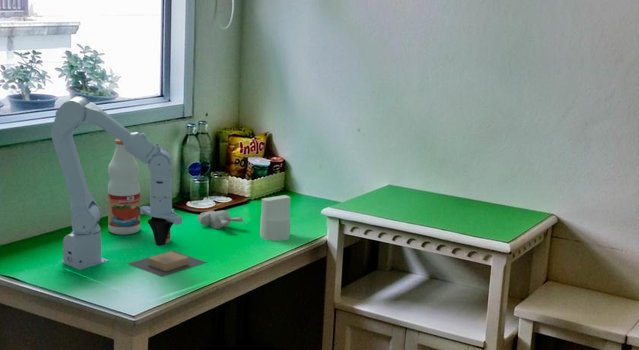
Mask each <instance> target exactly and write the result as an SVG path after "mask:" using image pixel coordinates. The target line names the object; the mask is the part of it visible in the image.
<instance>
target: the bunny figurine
mask: <svg viewBox="0 0 639 350" xmlns="http://www.w3.org/2000/svg"><path fill="white" fill-rule="evenodd" d="M197 221H199V224H200V225H203V226H209V227H211V228H212V229H218V230H221V228H227V227H228V226H230V224H231V223H232V222H238V223H239V222H240V223H242V222H244V220H243V218H242V217H238V216H237V217H235V216H234V217H231V215H230V212H229V211H228V210H223V209H222V210H216V211H215V210H208V211H204V212H201V213H200V214H198V215H197Z"/></svg>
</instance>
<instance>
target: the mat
mask: <svg viewBox="0 0 639 350" xmlns="http://www.w3.org/2000/svg"><path fill="white" fill-rule="evenodd" d="M171 251H172V252H175V253H178V254H181V255H184V256H187V257H189V264H188V265H185V266H182V267H179V268H176V269H172V270H169V271H163V270H160V269H158V268H155V267H152V266H149V265H148V258H150V257H153V256H157V255H160V254H164V253H167V252H171ZM167 252H162V253H158V254H155V255H152V256H149V257H146V258H143V259H139V260H135V261H132V262H128V263H127V265H129V266H132V267H134V268H137V269H140V270H141V271H145V272H148V273H151V274H152V275H155V276H158V277H162V278H163V277H166V276H169V275H173V274H176V273H178V272H182V271H185V270H188V269H191V268H195V267H198V266H200V265H204V264H207V263H208V262H207V261H205V260H201V259H199V258H196V257H193V256H190V255H188V254H187V255H186V254H185V253H182V252H179V251H175V250H170V251H167Z"/></svg>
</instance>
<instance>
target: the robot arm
mask: <svg viewBox="0 0 639 350" xmlns="http://www.w3.org/2000/svg"><path fill="white" fill-rule="evenodd" d="M83 122H84V123H83ZM82 123H83V126H97V127H99V128H100V129H102V130H104V131H105V132H107V133H108V134H110V135H111V136H113V137H114V138H115V139H119V140H120V141H122V142H123V143H124V148H125V150H126V151H128V152H129V153H130V154H132V155H133V156H134V157H135V159H137V160H138V161H140V162H142V163H143V164H146V165H147V167H148V170H149V171H150V178H149V205H144V206H140V215H147V216H150V217H151V218H150V219H147V224H148V225H149V227H150V228H151V231H152V233H153V238H154V237H155V241H156V242H155V245H156V246H158V247H162V246H165V245H166V240H167V236H168V233H169V230H170V231H171V229H172V226H173V225H175V226H178V225H181V224H183V216H182V215H179V214H178V213H176V212H175V208H173V203H172V202H173V179H172V173H173V172H172V166H173V162H174V157H173V155H172V153H171V152H170V151H169V150H168V149H167V148H164V147H163V148H162V146H161V145H160V144H158V145H156V144H155V142H153V141H151V140H150V139H148V138H147V136H148V135H147V134H146V133H144V132H142V133H140V132H138V131H135V132H131V131H129V130H128V129H127V128H126V127H125V126H124V125H122V124H121V123H119V122H118V121H117V120H116V119H114V117H112V116H111V115H109V114H108V113H107V112H106V111H104V110H103V109H102V108H101V107H99V106H98V105H97V104H96V103H94V102H92V101H89V99H88V98H86V97H84V96H79V95H77V96H73V97H72V98H70V99H69V100H67V101H65V102H63V103H62V104H61V105H60V107H59V108H58V109H57V110H56V111H55V118H54V122H53V125H52V127H51V128H52V129H51V132H50V136H51V140H52V143H53V146H54V149H55V153H56V155H57V160H58V162H59V166H60V169H61V172H62V175H63V179H64V182H65V185H66V188H67V192H68V196H69V198H70V199H69V200H70V204H69V205H70V206H69V208H70V213H71V217H70V225H71V228H72V231H71V232H70V233H69V234H66V235H65V236H64V237H63V239H62V240H63V241H62V254H63V255H62V258H63V259H62V261H61V263H62V264H65V265H67V266H70V267H71V268H74V269H76V270H83V269H86V268H90V267H93V266H97V265H101V264H104V263H107V262H109V259H106V258H104V257H102V231H101V230H102V228H101V226H100V225H99V222H100V220H101V218H102V215H103V213H102V212H103V211H102V208H101V206H100V205H99V204H98V203H97V202H96V200H95V197H94V195H93V194H92V193H91V192H90V189H89V186H88V182H87V179H86V176H85V172H84V169H83V166H82V163H81V160H80V155H79V153H78V149H77V145H76V143H75V139H74V136H73V135H74V134H75V132H76V131H77V129H78V127H79V125H80V124H82Z"/></svg>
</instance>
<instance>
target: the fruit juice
mask: <svg viewBox="0 0 639 350" xmlns="http://www.w3.org/2000/svg"><path fill="white" fill-rule="evenodd" d="M114 145H115V149H114V152H113V154H112V155H113V156H112V158H111V160H110V162H109V163H108V166H107V172H108V176H109V180H108V183H107V217H108V218H107V219H108V220H107V221H108V222H107V226H108V227H107V228H108V231H109V232H110V233H111V234H115V235H118V236H119V235H121V236H125V235H132V234H136V233H139V231H141V230H140V229H141V214H140V207H141V184H140V181H139V173H140V165H139V163H138V162H137V160H136V159H137V158H136V157H135V156H133V155H132V154H130V153H129V152H128V151H126V150H125V148H124V143H123V142H122V141H120V140H119V139H117V138H115V139H114Z"/></svg>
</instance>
